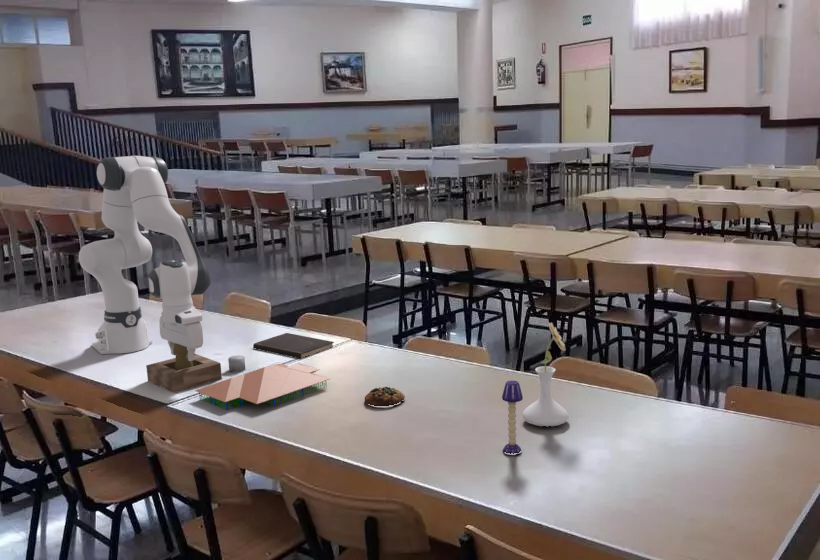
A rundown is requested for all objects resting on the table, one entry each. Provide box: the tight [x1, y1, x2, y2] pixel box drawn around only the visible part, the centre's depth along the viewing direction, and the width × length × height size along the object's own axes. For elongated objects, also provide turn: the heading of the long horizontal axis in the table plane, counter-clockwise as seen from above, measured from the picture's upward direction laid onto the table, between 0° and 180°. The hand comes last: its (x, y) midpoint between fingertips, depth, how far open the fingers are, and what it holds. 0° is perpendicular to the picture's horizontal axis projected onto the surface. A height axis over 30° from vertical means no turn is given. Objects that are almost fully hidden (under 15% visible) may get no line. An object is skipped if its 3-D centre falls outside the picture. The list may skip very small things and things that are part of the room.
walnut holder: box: [146, 352, 223, 393], centre depth 237 cm, size 16×16×5 cm
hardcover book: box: [252, 332, 335, 359], centre depth 268 cm, size 16×23×2 cm
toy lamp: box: [501, 380, 523, 454], centre depth 177 cm, size 5×5×17 cm
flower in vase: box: [521, 322, 570, 428], centre depth 194 cm, size 13×11×25 cm
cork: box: [173, 343, 193, 371], centre depth 237 cm, size 6×6×11 cm
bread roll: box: [364, 386, 406, 406], centre depth 214 cm, size 11×11×5 cm
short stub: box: [227, 354, 246, 373], centre depth 246 cm, size 5×5×4 cm
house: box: [194, 362, 331, 411], centre depth 223 cm, size 23×33×8 cm
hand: (182, 357), depth 236 cm, fingers open, 8 cm apart
